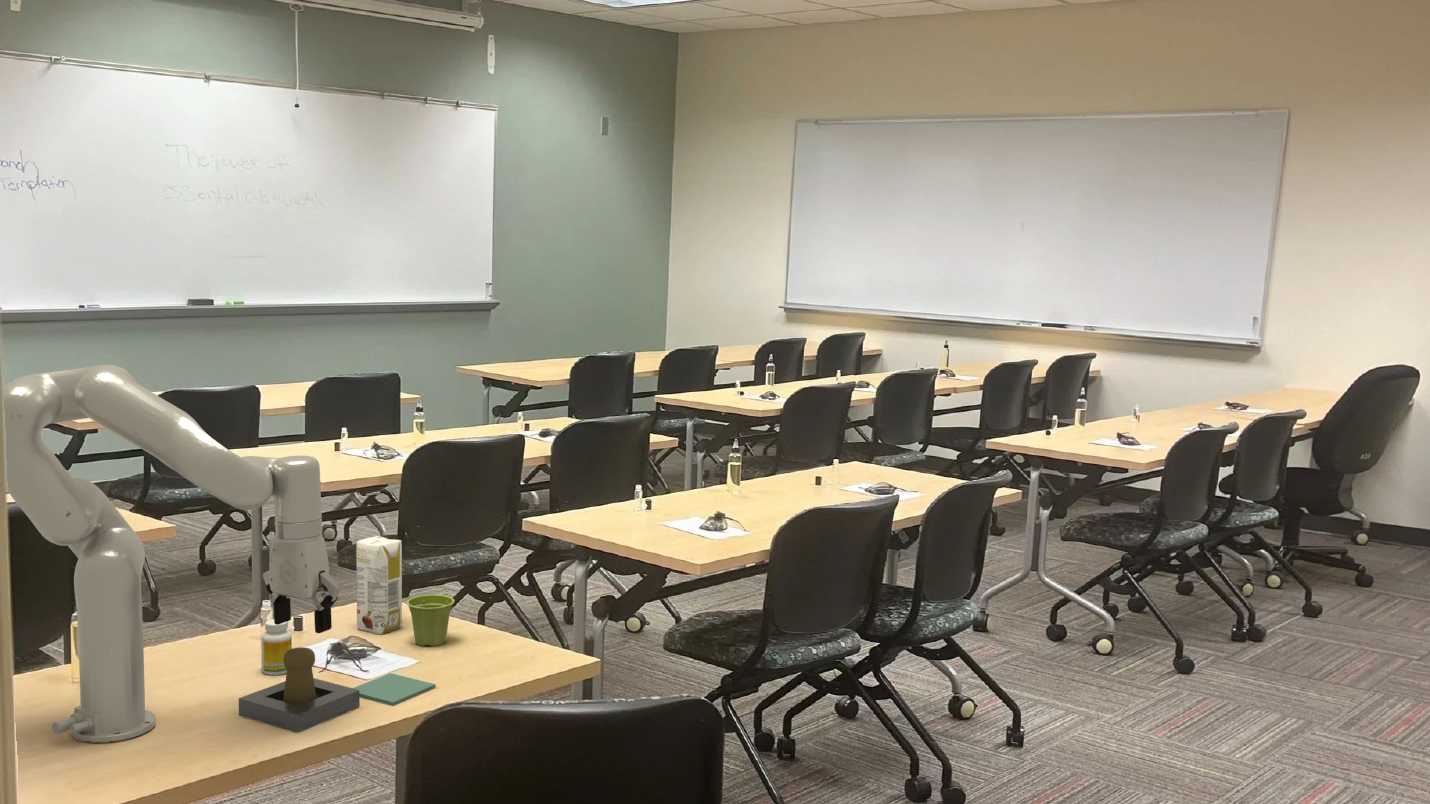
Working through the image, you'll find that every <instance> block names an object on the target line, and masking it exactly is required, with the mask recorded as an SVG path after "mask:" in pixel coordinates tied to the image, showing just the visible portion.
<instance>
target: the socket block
mask: <svg viewBox="0 0 1430 804" xmlns="http://www.w3.org/2000/svg"><path fill="white" fill-rule="evenodd" d="M313 679H314V685H315V692H316V699H315V700H312V701H309V702H307V703H304V704H302V705H299V706H297V705H294V704H290V703H286V702H283V697H284V689H285V681H286V680H285V681H282V682H280V683H277V684H274V685H273V684H272V685H270V686H268V687H266V688H263V689H261V690H257V691H255V692H251V693H250V694H247V695H244V696H242V697H239V698H238V716H240V717H243V718H245V719H246V718H248V719H249V720H254V721H257V722H260V723H264V724H268V725H271V726H275V727H278V728H281V729H284V730H288V731H291V732H295V733H300V732H302V731H305V730H307V729H310V728H312V727H314V726H316V725H319V724H322V723H323V722H326V721H328V720H331V719H334V718H335V717H337V716H341V715H343V714H346V713H347V712H350V711H353V710H354V709H357V708H360V707H361V706H360V698H361V697H360V694H359V690H357V689H353V688H354V687H350V686H344V685H342V684H338V683H334V682H331V681H326V680H323V679H318V678H314V677H313Z"/></svg>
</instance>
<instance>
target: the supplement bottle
mask: <svg viewBox="0 0 1430 804" xmlns="http://www.w3.org/2000/svg"><path fill="white" fill-rule="evenodd" d="M288 627H289V621H287V622H284V623H281V624H278V625H277V624H275V623H274V618H273V619H268V620H267V621H265V623H264V629H265V631H264V633H262V635H261V639H260V640H261V671H262V674H265V675H267V676H268V675H270V676H281V675H285V674H286V673H287V669H286V667H285V666H284V659H283V658H284V655H285V653H286V652H287V651H288V650H290V649H293V647H292V643H293V642H292V641H293V640H292V639H293V638H292V637H293V636H292V633H291V632H290V631H289V630H288Z"/></svg>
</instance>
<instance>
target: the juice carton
mask: <svg viewBox="0 0 1430 804" xmlns="http://www.w3.org/2000/svg"><path fill="white" fill-rule="evenodd" d="M402 551H403V547H402V540H401V539H392V538H391V539H389V538H387V537H383V536H380V535H377V536H370V537H366V538H363V539H362V538H361V539H359V540H356V627H357V630H361V631H364V632H369V633H372V634H376V635H383V634H386V633H391V632H392V631H395V629H396V630H399V629H401V628H402V623H403V622H402V621H403V618H402V617H403V615H402V614H403V608H402V606H403V589H402V588H403V587H402V585H403V580H402V579H403V573H402V572H403V571H402V570H403V569H402V567H403V565H402V564H403V556H402V555H403V552H402Z"/></svg>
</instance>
